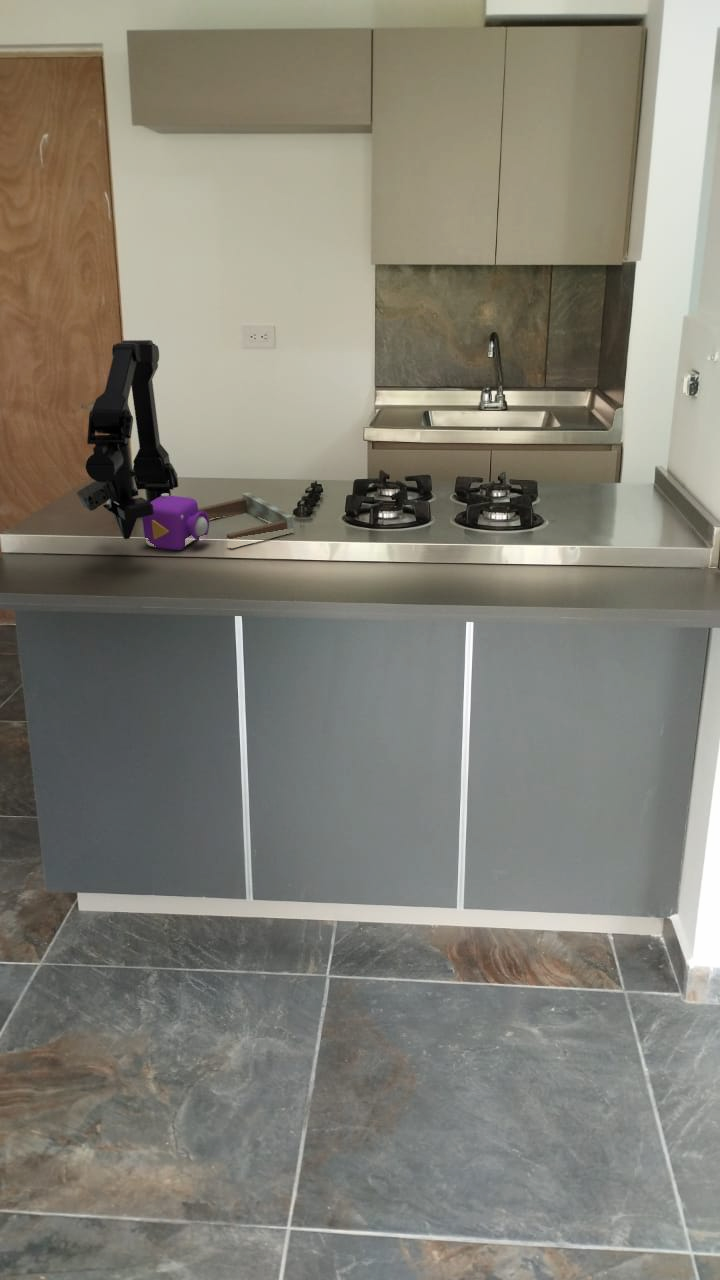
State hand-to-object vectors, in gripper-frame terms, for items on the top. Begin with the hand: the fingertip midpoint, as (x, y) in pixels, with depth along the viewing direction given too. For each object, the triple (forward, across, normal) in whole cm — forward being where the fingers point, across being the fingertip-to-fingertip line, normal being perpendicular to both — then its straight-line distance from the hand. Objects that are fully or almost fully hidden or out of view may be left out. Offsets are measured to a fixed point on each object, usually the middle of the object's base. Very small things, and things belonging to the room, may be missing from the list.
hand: (126, 538), depth 225 cm
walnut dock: (+4, 0, +27) cm, 27 cm away
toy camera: (+4, 0, +12) cm, 13 cm away
